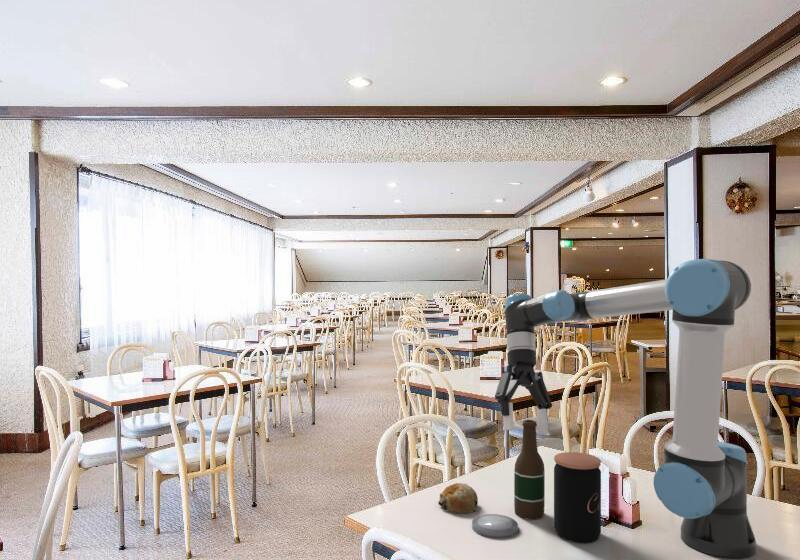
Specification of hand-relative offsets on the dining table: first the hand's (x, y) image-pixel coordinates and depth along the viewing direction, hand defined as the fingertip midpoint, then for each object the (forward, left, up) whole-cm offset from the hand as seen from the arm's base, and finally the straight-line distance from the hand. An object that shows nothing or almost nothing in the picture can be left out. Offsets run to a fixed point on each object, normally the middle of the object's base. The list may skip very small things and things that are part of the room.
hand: (526, 432), depth 147 cm
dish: (+9, +7, -22) cm, 24 cm away
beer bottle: (-1, -2, -22) cm, 22 cm away
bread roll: (+17, -6, -22) cm, 28 cm away
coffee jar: (-10, +10, -22) cm, 26 cm away
